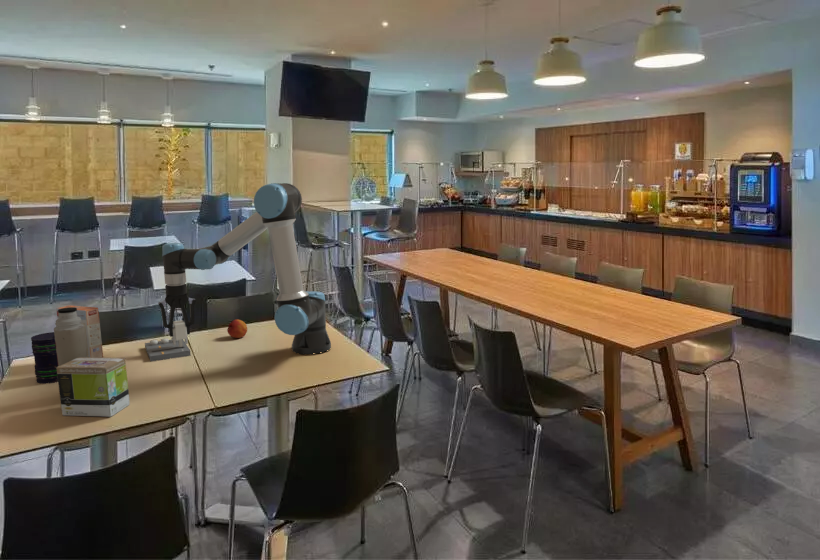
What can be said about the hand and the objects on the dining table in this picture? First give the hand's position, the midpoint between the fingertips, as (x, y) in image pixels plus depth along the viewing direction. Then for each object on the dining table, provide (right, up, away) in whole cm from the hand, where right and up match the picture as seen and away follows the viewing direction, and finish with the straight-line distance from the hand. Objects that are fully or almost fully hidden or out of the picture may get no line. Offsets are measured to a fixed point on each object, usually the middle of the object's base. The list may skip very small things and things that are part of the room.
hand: (180, 343), depth 221 cm
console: (-6, -3, +2) cm, 7 cm away
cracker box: (-31, -6, -11) cm, 34 cm away
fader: (0, -1, 0) cm, 1 cm away
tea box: (-3, -14, -54) cm, 56 cm away
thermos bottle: (-14, -12, -44) cm, 48 cm away
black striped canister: (-32, -9, -27) cm, 43 cm away
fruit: (+16, 0, +21) cm, 26 cm away
